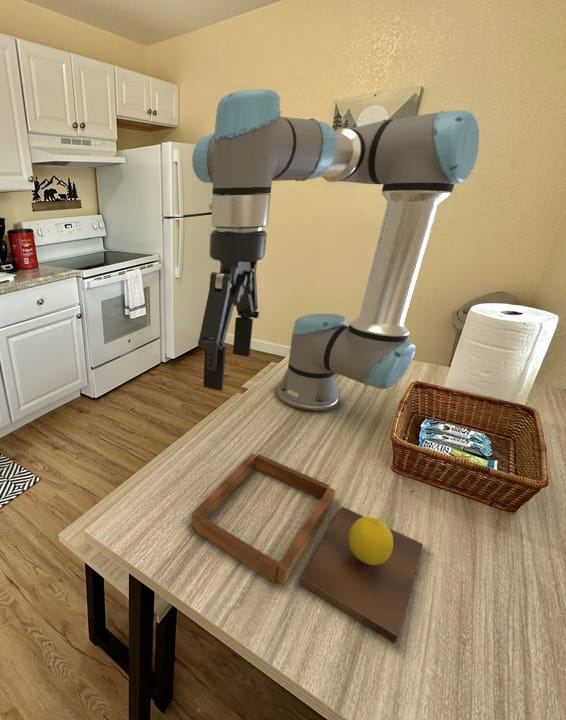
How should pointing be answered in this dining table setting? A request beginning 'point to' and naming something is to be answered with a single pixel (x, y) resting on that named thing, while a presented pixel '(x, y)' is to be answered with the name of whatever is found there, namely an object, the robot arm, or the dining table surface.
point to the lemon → (371, 540)
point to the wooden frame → (244, 550)
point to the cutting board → (364, 577)
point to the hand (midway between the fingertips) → (228, 370)
